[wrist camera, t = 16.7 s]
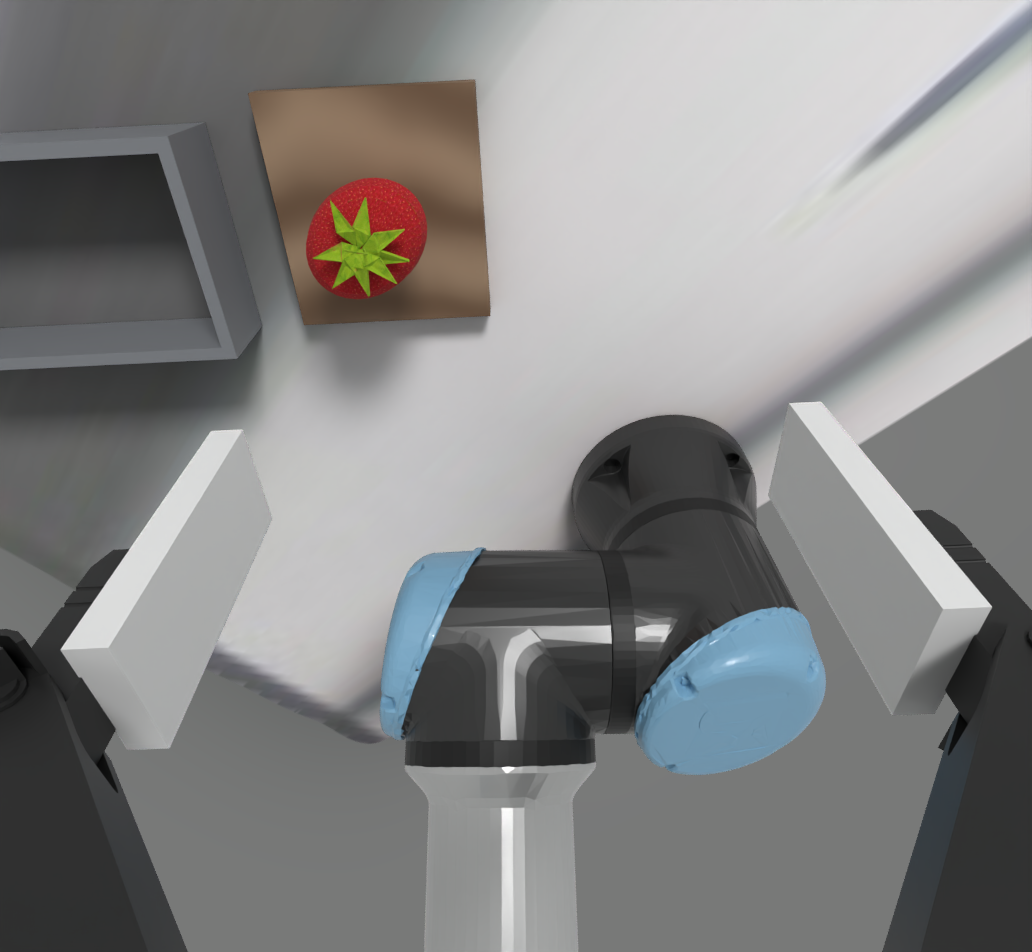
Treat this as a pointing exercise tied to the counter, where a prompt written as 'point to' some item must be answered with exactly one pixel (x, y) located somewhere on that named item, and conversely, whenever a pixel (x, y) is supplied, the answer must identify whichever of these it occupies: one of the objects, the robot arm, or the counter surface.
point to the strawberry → (366, 238)
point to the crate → (206, 237)
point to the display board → (389, 155)
